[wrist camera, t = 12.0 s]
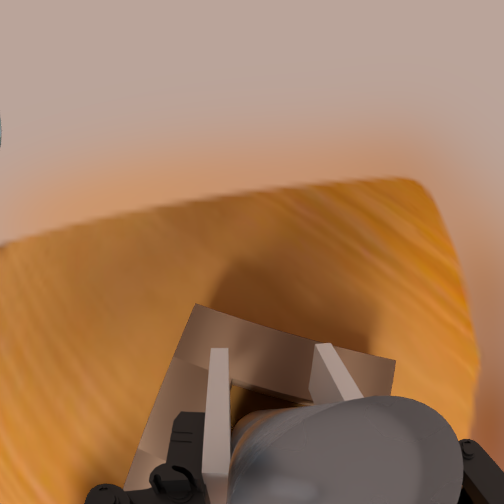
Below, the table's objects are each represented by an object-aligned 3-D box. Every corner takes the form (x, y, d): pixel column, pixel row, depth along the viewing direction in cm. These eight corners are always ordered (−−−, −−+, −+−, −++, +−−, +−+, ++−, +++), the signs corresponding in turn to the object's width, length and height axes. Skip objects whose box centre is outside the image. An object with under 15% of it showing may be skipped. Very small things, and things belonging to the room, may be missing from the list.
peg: (222, 459, 13) (190, 585, 2) (242, 401, 16) (276, 370, 4) (286, 475, 13) (416, 584, 1) (305, 418, 15) (480, 404, 3)
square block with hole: (141, 481, 13) (121, 493, 10) (201, 323, 20) (195, 303, 17) (321, 527, 12) (339, 547, 9) (369, 371, 19) (396, 360, 15)
